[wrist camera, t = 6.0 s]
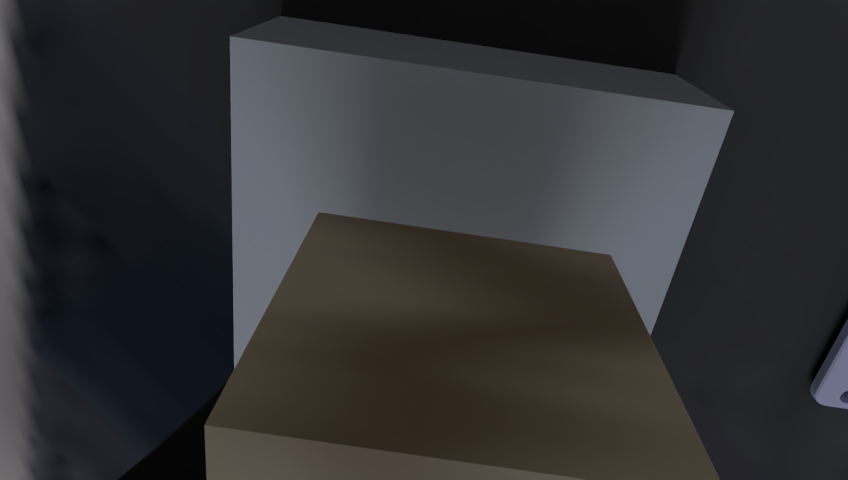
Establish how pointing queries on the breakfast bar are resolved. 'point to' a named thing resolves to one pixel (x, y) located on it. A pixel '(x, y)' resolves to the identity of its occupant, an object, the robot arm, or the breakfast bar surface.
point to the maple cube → (449, 367)
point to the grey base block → (459, 151)
